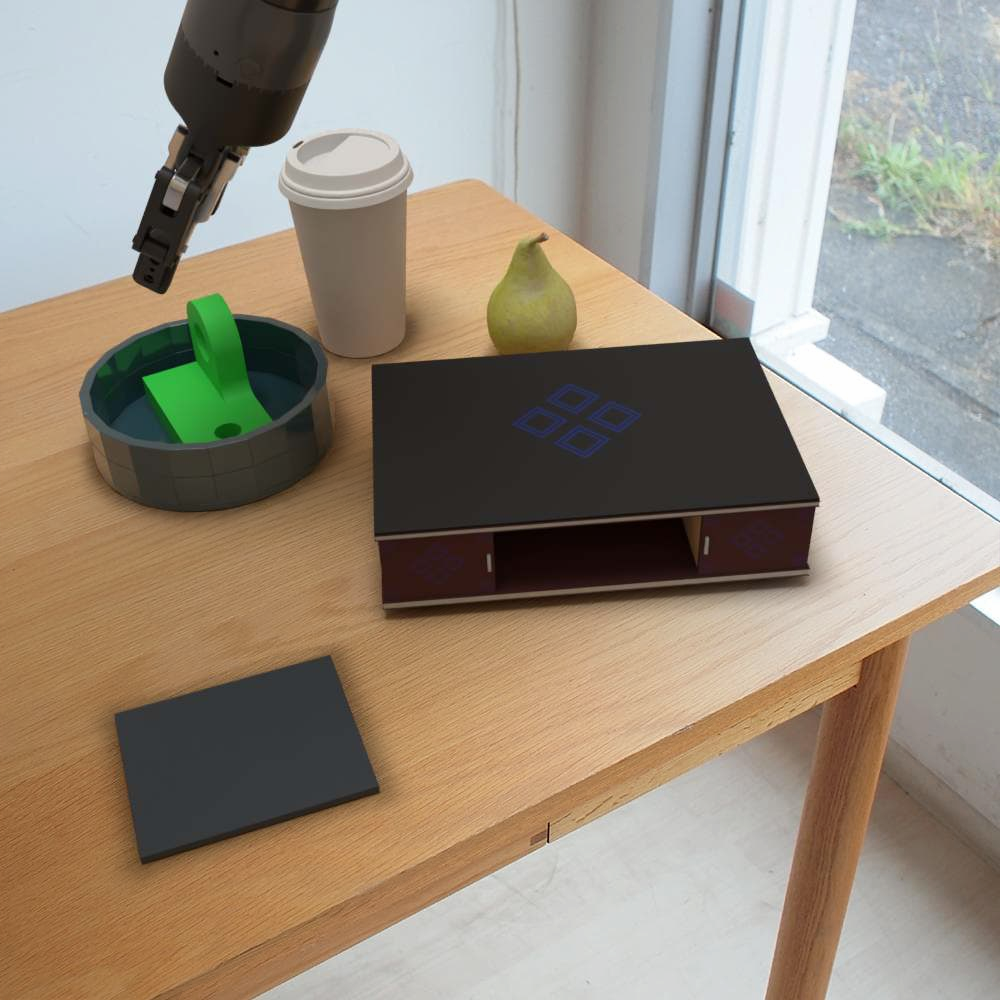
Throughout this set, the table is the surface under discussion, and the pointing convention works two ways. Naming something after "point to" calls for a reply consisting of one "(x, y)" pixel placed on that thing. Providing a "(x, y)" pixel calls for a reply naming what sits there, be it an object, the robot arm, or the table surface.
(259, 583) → the table surface
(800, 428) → the table surface
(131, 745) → the mat
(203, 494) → the pot
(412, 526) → the miniature tv stand
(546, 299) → the fruit
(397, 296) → the coffee cup
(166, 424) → the mechanical part
